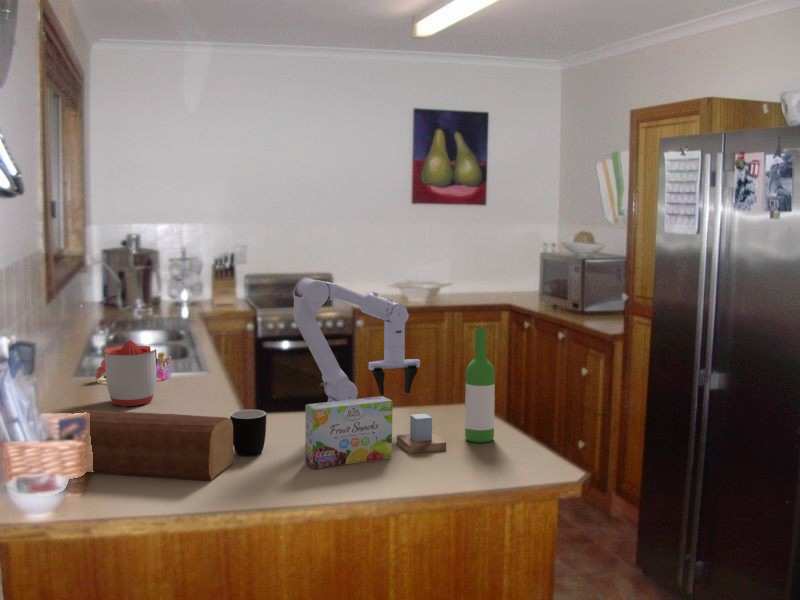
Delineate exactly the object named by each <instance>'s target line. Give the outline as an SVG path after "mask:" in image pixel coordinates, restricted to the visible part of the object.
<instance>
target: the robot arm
mask: <svg viewBox="0 0 800 600" xmlns="http://www.w3.org/2000/svg"><path fill="white" fill-rule="evenodd" d="M292 297H293V315H292V316H293V320H294V322H295V325H296V326H297V328H298V330H299V332H300V334H301V336H302V338H303V340H304V342H305V344H306V345H307V347H308V350H309V351H310V353H311V356H312V357H313V360H315V363H316V365H317V367H318V369H319V370H320V372H321V374H322V376H321V379H322V381H323V385H324V386H323V387H324V389H323V390H324V392H325V394H326V396H328V397H327V402H334V401H343V400H352V399H358V395H359V390H358V388H357V385H356V384H355V383H353V382H352V381H350V379H349V377H348V375H347V374H346V373H345V372H344V371H343V370H342V368H341V367H340V365H339V362H338V361H337V359H336V356H335V355H334V353H333V351H332V349H331V347H330V345H329V343H328V341H327V339H326V338H325V337H326V336H325V335H324V333H323V331H322V330H321V327H320V326H319V324H318V321H317V320H316V317H317V314H318V312H319V311H320V309H321V308H322V307H323V305H324V304H325V303H326V302H327V300H328V301H332V300H334V299H338V300H341V301H343V302H347V303H350V304H352V305H356V306H358V308H359V309H360V311H361V312H362V313H364V314H366V315H369V316H372V317H374V318H377V319H380V320H383V325H384V326H383V333H384V336H383V338H384V339H383V343H384V345H383V350H384V351H383V356H384V357H383V360H376V361H368V370H369V371H370V372H371V373H372V374H373V375H372V376H373V377H374V379H375V382H376V386H377V388H378V394H379V396H384V393H385V391H384V390H385V388H384V383H385V382H384V380H385V371H384V370H385V369H400V368H401V369H402V368H403V370H404V371H403V372H404V392H405V393H406V394H411V393H410V392H411V388H412V384H413V381H414V379H415V377H416V375H417V373H418V370H419V369H418V368H420V367H421V360H420V359H418V358H414V359H413V358H411V359H410V358H409V359H408V358H407V359H406V357H405V354H406V350H405V349H406V348H405V347H406V343H405V342H406V337H405V336H406V335H405V334H406V332H405V331H406V330H405V329H406V323H407V321H408V320H409V316H410V314H409V313H408V310H407V309H408V308H407V307H406V306H405V305H404V304H402V303H398V302H394V300H393V298H390V297H388V298H385V297H382V296H380V295H379V293H378V292H375V291H372V292H366V293H365V294H361V293H359V292H357V291H354V290H351V289H348V288H347V287H345V286H342V285H339V284H337V283H333V282H330V281H329V282H328V281H323V280H318V279H313V278H310V277H303V278H300V280H299V281H297V282H296V285H295V287H294V289H293V292H292ZM383 369H384V370H383Z"/></svg>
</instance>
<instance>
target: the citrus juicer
mask: <svg viewBox="0 0 800 600" xmlns="http://www.w3.org/2000/svg"><path fill="white" fill-rule="evenodd" d="M103 353H104V355H105V356H104V359H105V364H106V370H105V376H106V382H107V385H106V387H107V391H108V394H109V399H110V401H111V402H112V404H113V405H115V406H121V407H122V408H123V407H124V408H127V407H130V406H133V407H134V406H139V405H140V406H142V405H148V404H149V403H150V402H152V401H153V398H154V395H155V389H156V385H157V384H156V383H157V381H156V365H157V363H162V362H161V360H160V359H158V354H157V349H153V350H151V346H150V345H137V344H136V343H135V342H134V341H133V340H131V339H130V340H127V341H126V342H125V343H124V345H122V346H115V347H110V348H107V349H105V350H104V351H103Z"/></svg>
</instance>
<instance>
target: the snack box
mask: <svg viewBox="0 0 800 600" xmlns="http://www.w3.org/2000/svg"><path fill="white" fill-rule="evenodd" d="M393 404H394V403H393V400H392V399H390V398H388V397H385V396H384V395H379V396H371V397H364V398H356V399H352V400H343V401H334V402H328V401H327V402H317V403H308V404H305V414H304V415H305V417H304V418H305V421H304V423H305V433H304V434H305V447H304V448H305V464H307V465H308V467H310V468H311V469H312V470H317V469H322V468H330V467H331V468H332V467H336V466H345V465H351V464H359V463H367V462H373V461H379V460H386V459H391V458H392V456H393V409H394V407H393V406H394V405H393Z"/></svg>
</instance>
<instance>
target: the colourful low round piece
mask: <svg viewBox="0 0 800 600" xmlns="http://www.w3.org/2000/svg"><path fill="white" fill-rule="evenodd" d="M165 354H166V353H165V352H164V351H162V352H158V354H157V359H160V360H161V362H162V363H157V365H156V382H161V381H165V379H166V380H168V379H170V378H171V377H172V372H171V360H172V356H166V358H165ZM96 372H97V373H95V381H96V383H97V384H100V385H104V386H107V382H106V375H103V374H106V364H105V358H104V359H103V360H102V361H101V363H100V366H99V367H97V369H96ZM102 375H103V376H102Z"/></svg>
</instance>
